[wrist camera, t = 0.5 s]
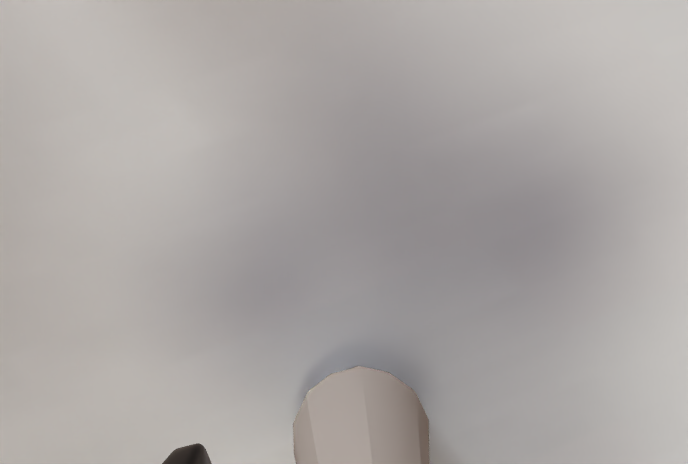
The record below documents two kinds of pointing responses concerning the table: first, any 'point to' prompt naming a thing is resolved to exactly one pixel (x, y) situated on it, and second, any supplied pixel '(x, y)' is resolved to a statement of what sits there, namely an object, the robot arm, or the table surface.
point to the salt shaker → (361, 421)
